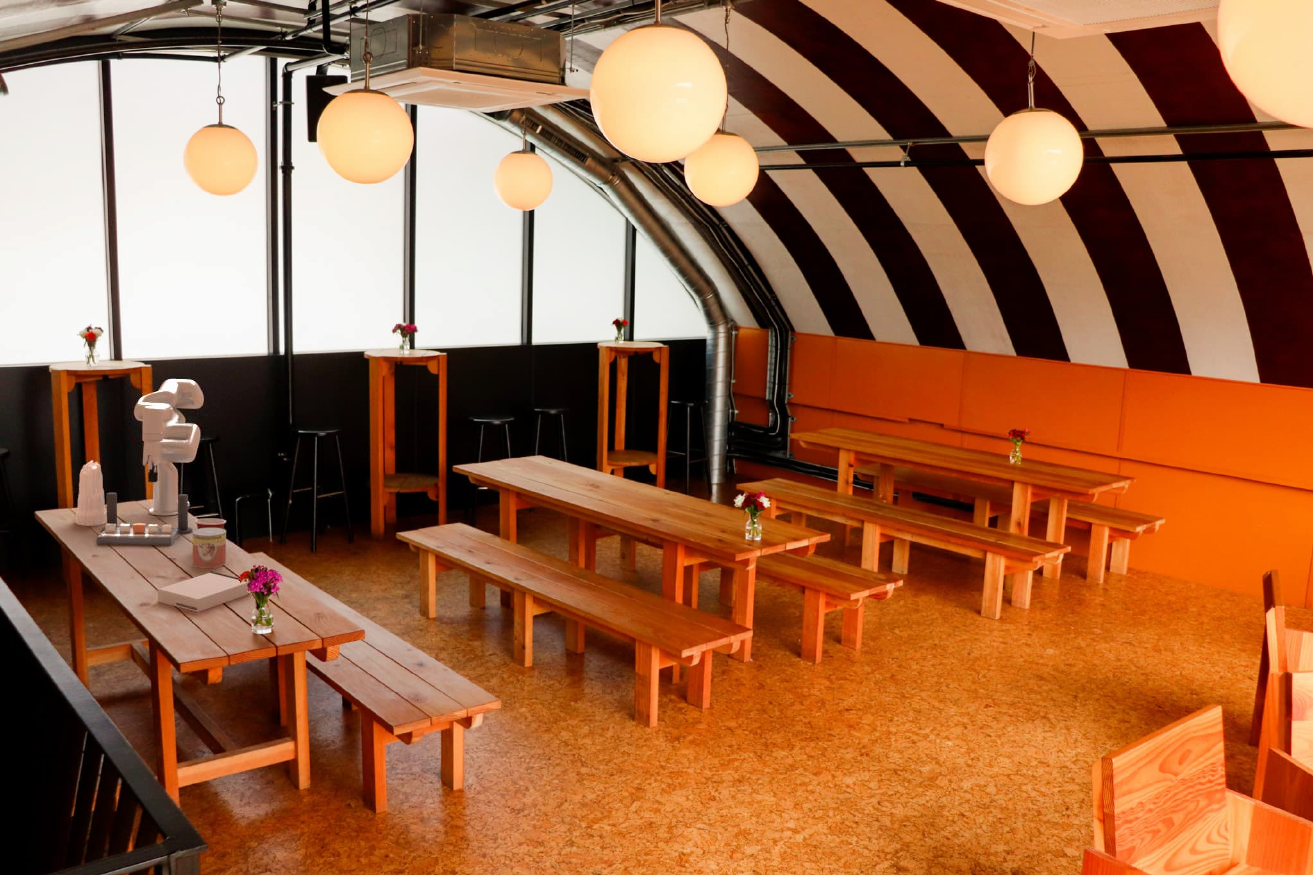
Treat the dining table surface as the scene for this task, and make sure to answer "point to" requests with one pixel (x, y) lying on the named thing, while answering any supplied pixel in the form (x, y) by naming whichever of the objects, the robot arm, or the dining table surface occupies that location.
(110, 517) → the knob
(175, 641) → the dining table surface
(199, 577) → the disc drive
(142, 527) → the block
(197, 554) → the canned food
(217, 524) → the plastic cup
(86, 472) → the white ridged tapered column
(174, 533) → the breaker panel
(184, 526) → the post
